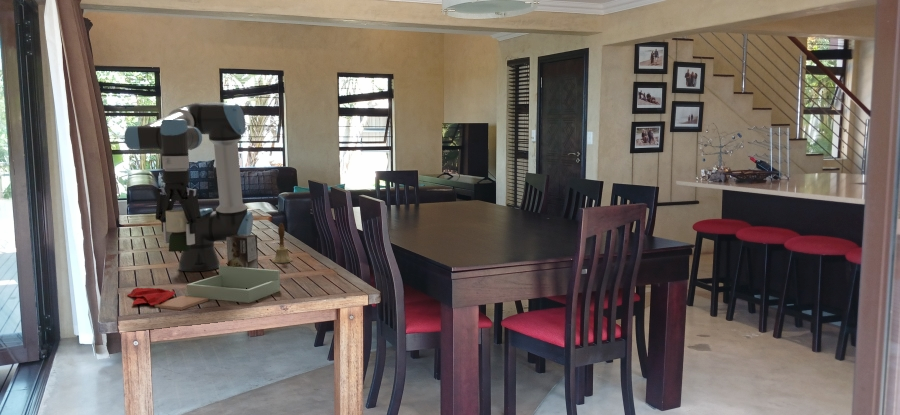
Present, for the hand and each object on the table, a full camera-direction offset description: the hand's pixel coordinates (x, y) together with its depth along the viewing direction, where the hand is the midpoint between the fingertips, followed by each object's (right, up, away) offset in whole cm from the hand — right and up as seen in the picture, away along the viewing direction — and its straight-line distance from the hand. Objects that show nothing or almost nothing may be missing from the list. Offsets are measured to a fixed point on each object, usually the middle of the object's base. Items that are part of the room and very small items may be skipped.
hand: (179, 243), depth 208 cm
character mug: (0, -3, 0) cm, 3 cm away
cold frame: (+12, -17, +15) cm, 26 cm away
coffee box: (+8, -15, +37) cm, 41 cm away
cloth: (-12, -18, +9) cm, 23 cm away
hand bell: (+14, -11, +71) cm, 74 cm away
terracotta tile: (0, -19, +2) cm, 19 cm away
